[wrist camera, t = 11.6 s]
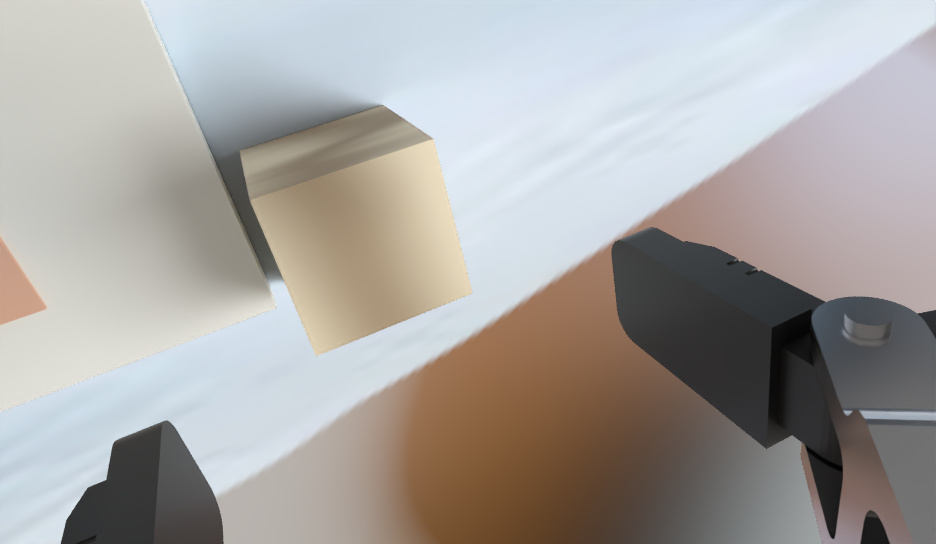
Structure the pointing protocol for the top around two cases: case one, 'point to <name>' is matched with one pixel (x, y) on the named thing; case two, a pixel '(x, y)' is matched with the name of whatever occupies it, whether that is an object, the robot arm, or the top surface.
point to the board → (106, 201)
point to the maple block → (357, 224)
